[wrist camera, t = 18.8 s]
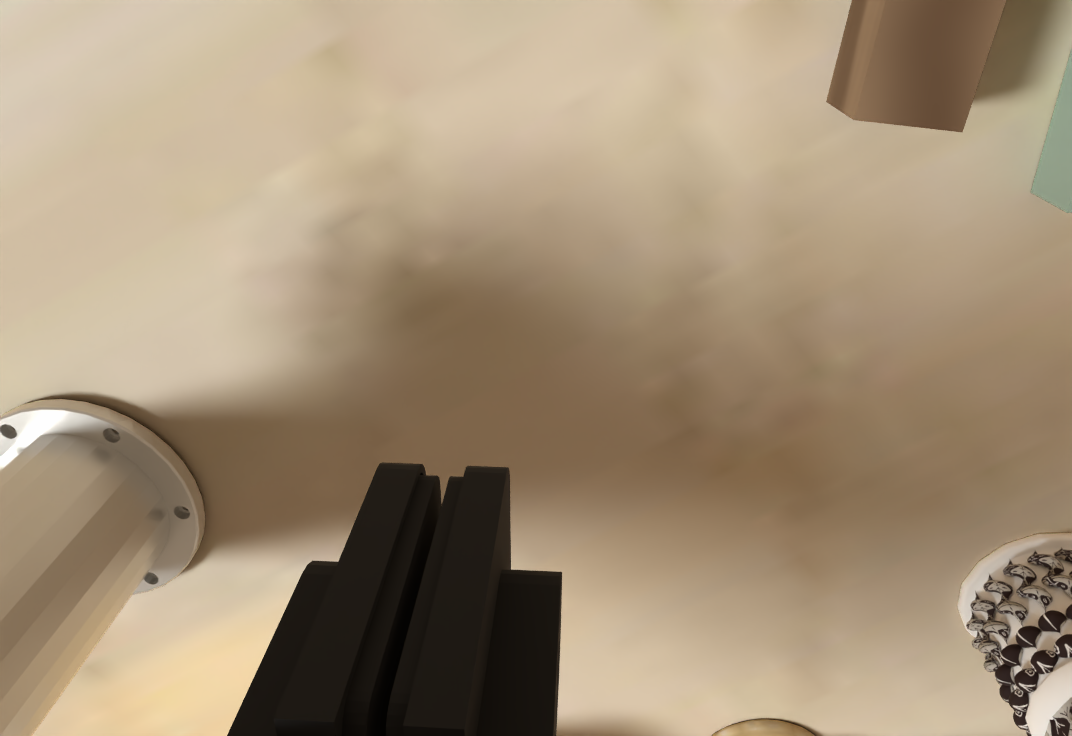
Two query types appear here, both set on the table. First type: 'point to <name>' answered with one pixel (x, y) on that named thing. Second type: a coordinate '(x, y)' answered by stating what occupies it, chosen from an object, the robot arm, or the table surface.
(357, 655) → the robot arm
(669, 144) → the table surface
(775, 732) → the hand bell
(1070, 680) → the patterned stacked cylinder
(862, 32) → the t block
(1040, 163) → the corner fence
